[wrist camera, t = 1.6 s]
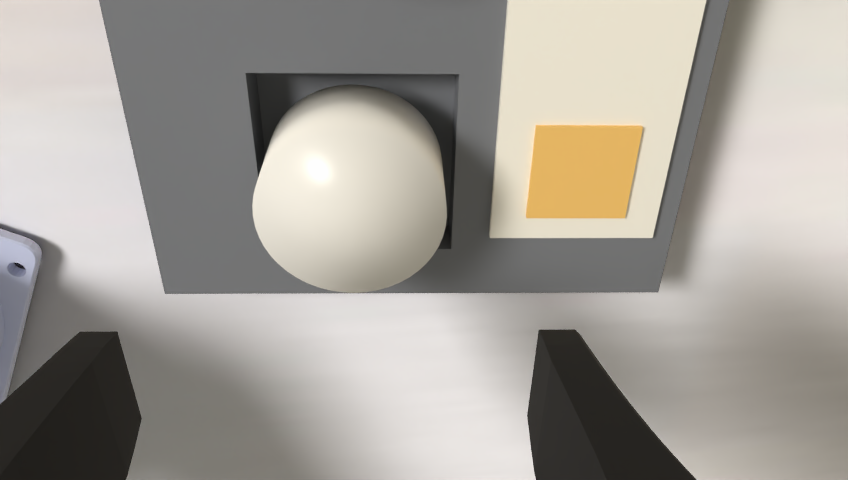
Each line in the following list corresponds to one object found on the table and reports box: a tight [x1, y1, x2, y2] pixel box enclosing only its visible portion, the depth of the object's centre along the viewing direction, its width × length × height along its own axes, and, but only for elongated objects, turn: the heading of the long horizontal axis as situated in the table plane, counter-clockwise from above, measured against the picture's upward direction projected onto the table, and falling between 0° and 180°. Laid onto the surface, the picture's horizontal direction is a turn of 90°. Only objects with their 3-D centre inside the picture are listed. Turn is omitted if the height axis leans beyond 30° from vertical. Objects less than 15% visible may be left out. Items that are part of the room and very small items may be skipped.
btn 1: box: [252, 84, 447, 293], centre depth 18 cm, size 4×4×2 cm
